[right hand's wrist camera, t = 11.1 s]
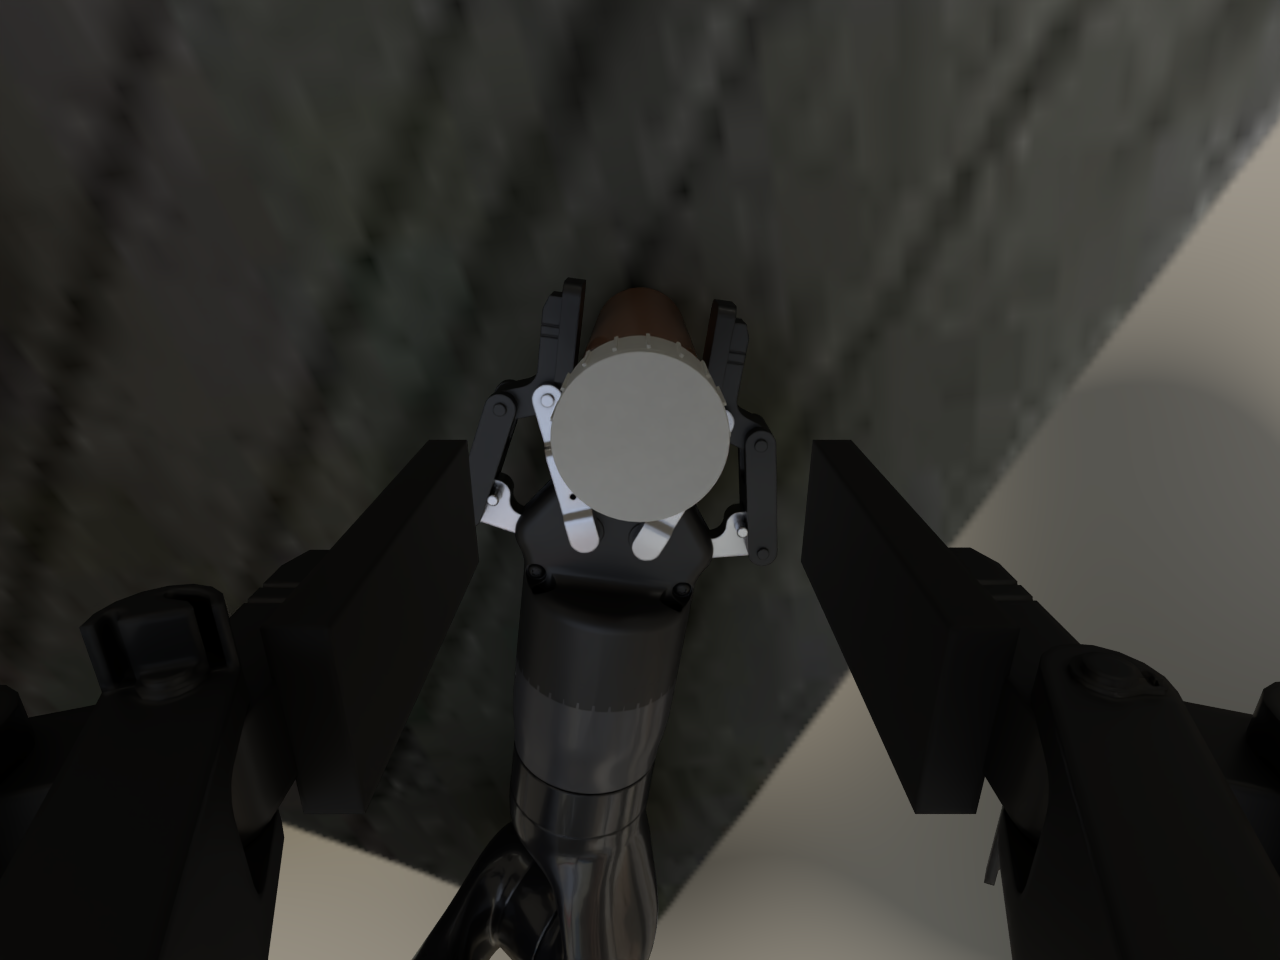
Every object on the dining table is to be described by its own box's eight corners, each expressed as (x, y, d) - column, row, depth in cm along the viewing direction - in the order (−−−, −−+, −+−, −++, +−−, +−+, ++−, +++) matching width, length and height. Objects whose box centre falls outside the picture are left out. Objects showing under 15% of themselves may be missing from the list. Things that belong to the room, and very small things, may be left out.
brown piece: (576, 324, 33) (526, 420, 18) (648, 267, 32) (656, 321, 17) (631, 394, 34) (625, 537, 19) (702, 342, 33) (752, 450, 18)
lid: (523, 400, 20) (508, 423, 18) (656, 296, 19) (659, 308, 17) (624, 520, 21) (622, 555, 19) (754, 430, 20) (768, 457, 18)
